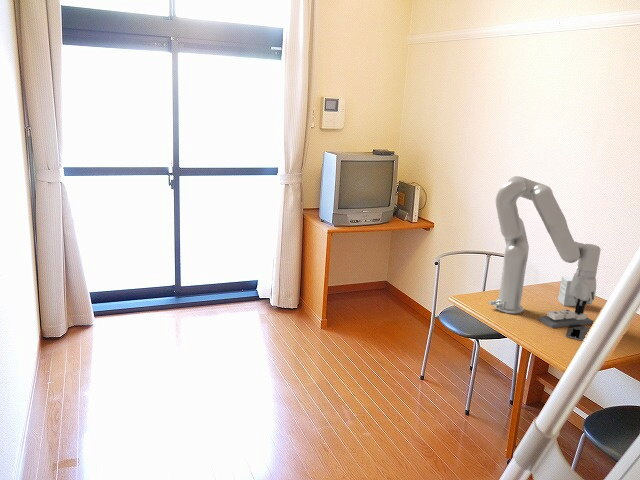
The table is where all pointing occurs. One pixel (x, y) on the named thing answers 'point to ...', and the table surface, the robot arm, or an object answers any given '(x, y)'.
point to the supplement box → (566, 292)
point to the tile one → (555, 315)
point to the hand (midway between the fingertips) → (579, 312)
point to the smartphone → (577, 332)
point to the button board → (564, 322)
